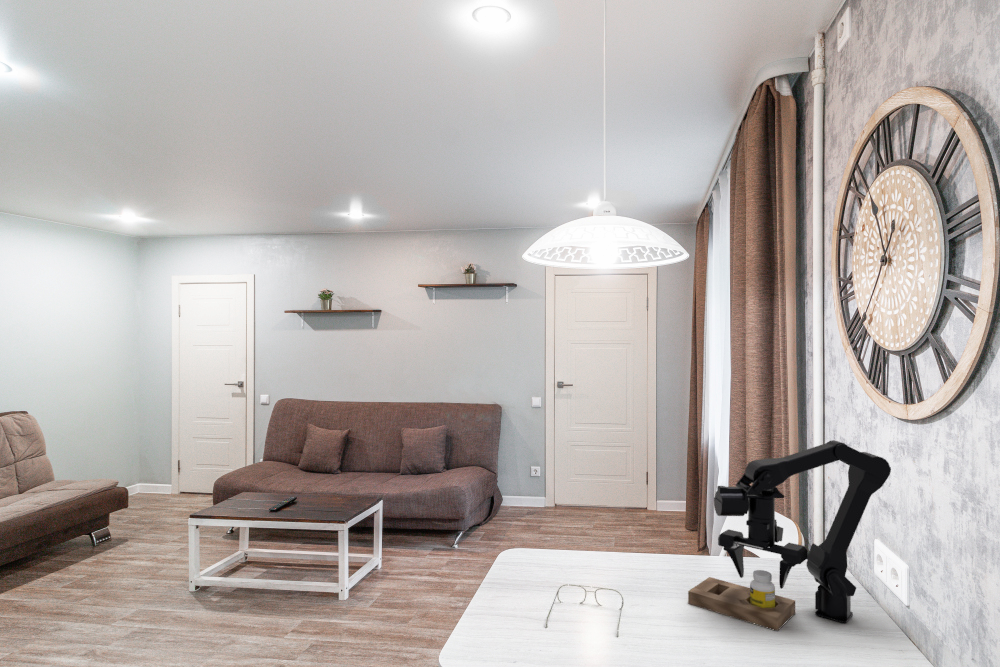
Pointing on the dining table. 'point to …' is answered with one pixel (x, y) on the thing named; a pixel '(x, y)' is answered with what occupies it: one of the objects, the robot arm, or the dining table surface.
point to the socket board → (739, 603)
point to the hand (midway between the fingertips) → (761, 582)
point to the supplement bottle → (762, 590)
